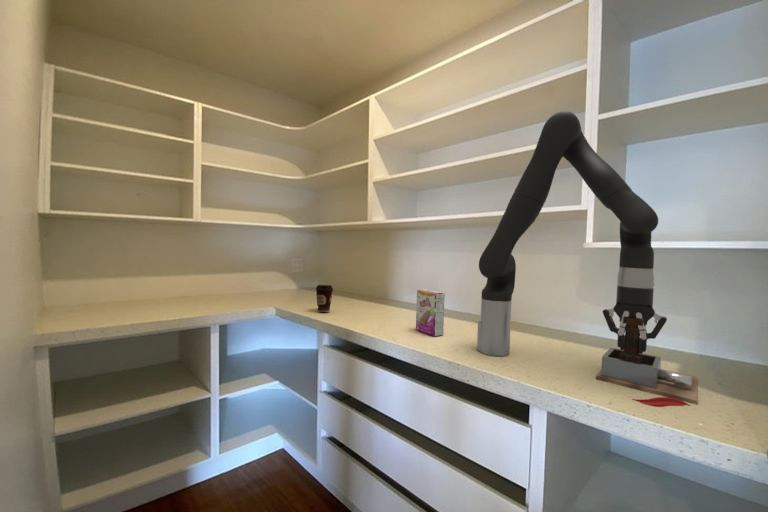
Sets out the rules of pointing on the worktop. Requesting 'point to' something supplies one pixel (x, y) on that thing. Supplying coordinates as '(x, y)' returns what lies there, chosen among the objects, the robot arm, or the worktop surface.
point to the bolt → (631, 340)
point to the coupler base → (660, 388)
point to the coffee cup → (324, 297)
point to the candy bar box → (430, 312)
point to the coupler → (641, 371)
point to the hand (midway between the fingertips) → (631, 350)
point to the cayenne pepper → (662, 402)
